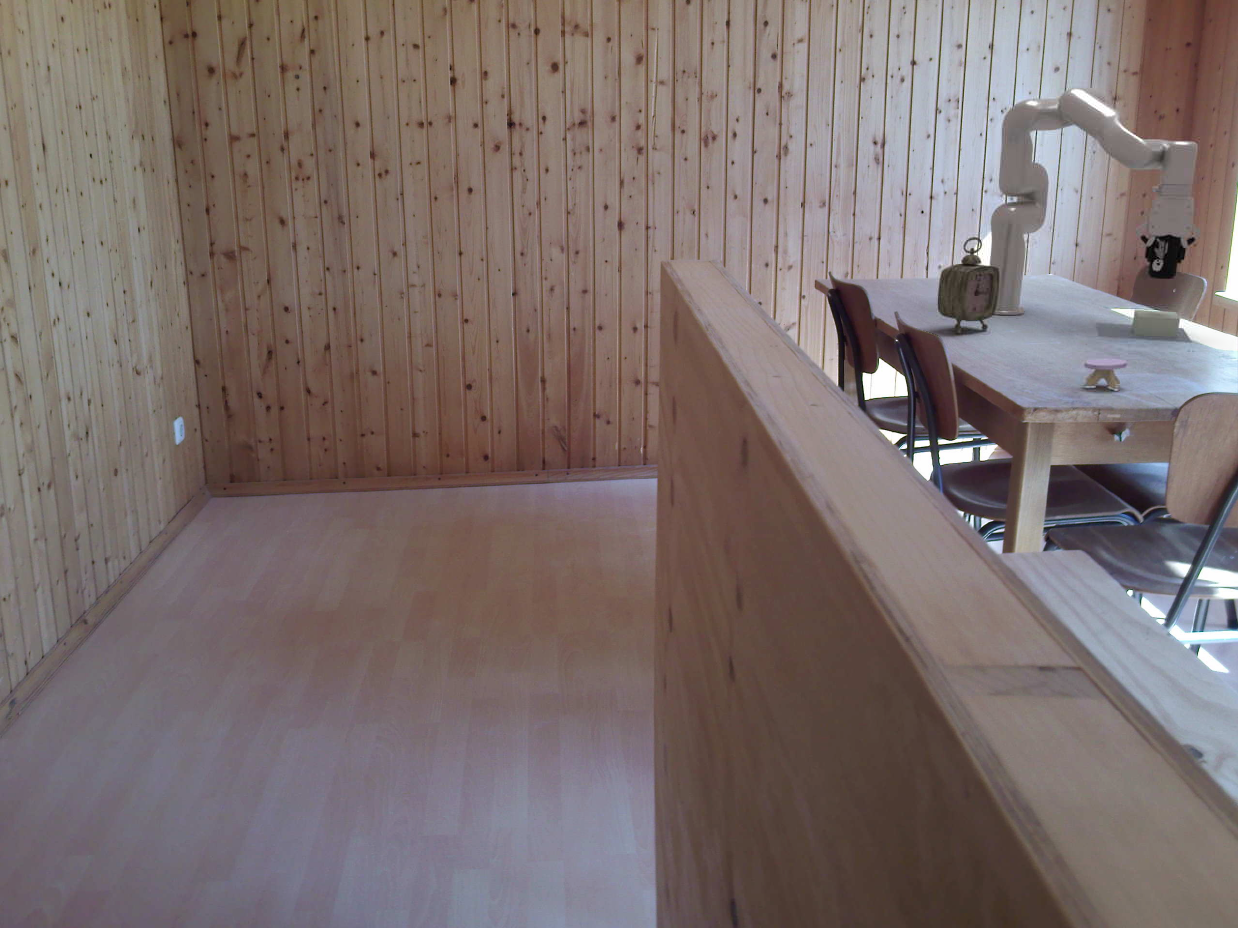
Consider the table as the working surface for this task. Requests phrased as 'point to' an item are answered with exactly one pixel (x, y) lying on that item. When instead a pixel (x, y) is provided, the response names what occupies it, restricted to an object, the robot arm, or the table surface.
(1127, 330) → the board
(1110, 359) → the toy table
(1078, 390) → the table surface
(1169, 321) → the plinth
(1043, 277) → the table surface
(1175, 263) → the beverage can
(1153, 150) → the robot arm
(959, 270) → the tabletop clock
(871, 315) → the table surface
